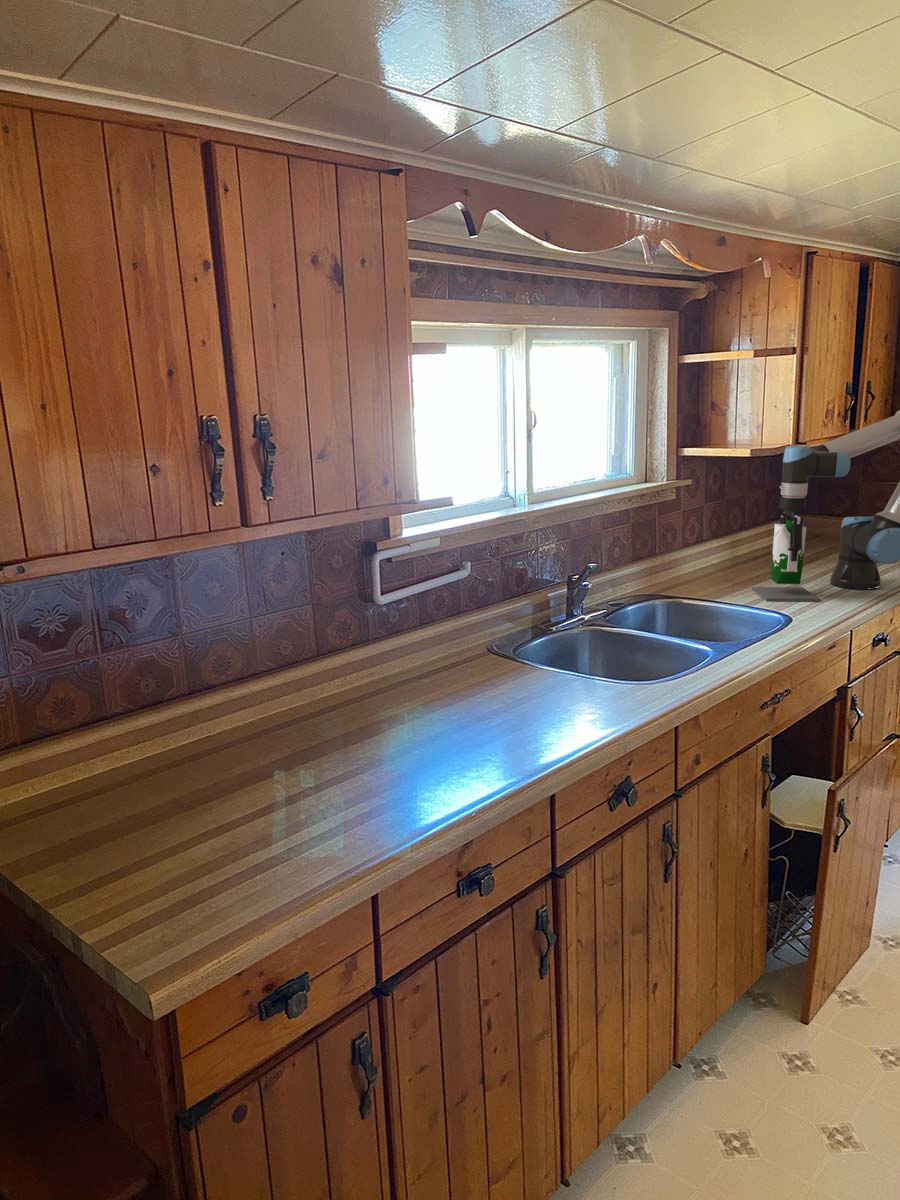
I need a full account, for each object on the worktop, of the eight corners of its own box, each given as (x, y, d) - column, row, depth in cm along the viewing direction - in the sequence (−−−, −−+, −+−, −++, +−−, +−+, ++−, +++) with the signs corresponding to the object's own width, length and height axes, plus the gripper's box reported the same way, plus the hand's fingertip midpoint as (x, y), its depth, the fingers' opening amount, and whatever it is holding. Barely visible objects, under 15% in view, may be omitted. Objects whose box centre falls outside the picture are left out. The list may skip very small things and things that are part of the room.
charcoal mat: (801, 590, 273) (801, 587, 273) (819, 601, 258) (819, 598, 257) (751, 589, 274) (751, 586, 274) (766, 601, 259) (766, 598, 258)
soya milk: (774, 584, 261) (780, 520, 256) (767, 578, 270) (772, 516, 265) (804, 585, 260) (810, 521, 255) (795, 578, 269) (801, 517, 264)
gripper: (770, 492, 269) (764, 561, 274) (792, 500, 248) (785, 575, 253) (794, 492, 269) (787, 561, 274) (818, 500, 248) (811, 575, 253)
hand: (786, 567), depth 264 cm, fingers closed on soya milk, 9 cm apart
